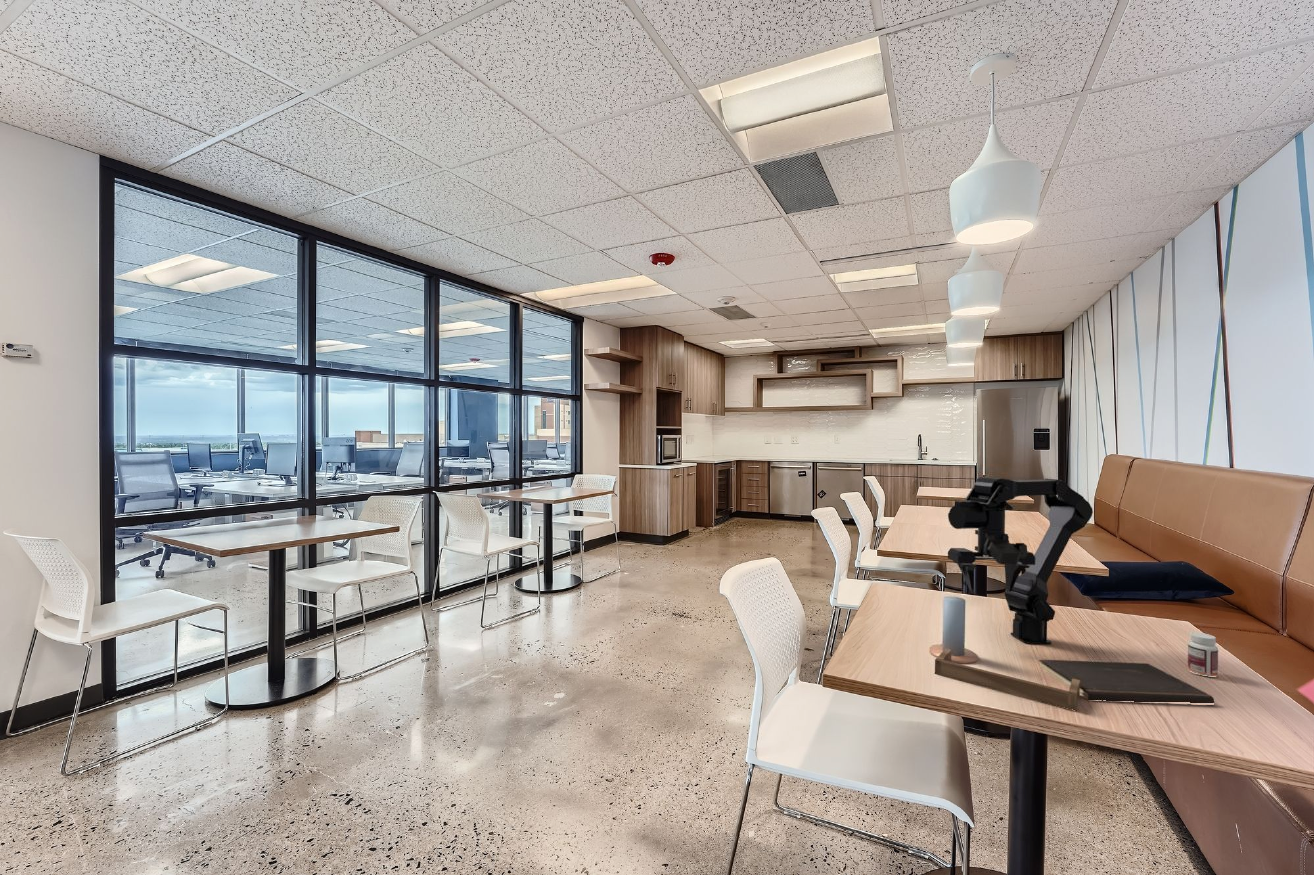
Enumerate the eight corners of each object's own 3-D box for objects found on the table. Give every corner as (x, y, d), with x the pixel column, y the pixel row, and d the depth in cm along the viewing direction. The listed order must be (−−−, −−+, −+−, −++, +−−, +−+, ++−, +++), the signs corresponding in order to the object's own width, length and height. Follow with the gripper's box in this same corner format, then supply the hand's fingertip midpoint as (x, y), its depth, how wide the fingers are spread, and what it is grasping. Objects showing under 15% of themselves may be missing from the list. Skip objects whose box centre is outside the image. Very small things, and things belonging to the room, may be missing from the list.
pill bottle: (1209, 670, 124) (1210, 633, 124) (1223, 679, 120) (1223, 640, 120) (1182, 667, 126) (1183, 630, 126) (1194, 676, 121) (1195, 637, 121)
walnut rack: (945, 661, 127) (945, 648, 127) (1079, 695, 111) (1079, 680, 111) (934, 673, 121) (934, 659, 121) (1075, 711, 105) (1075, 695, 105)
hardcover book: (1038, 669, 125) (1038, 659, 125) (1147, 673, 124) (1147, 663, 124) (1088, 703, 109) (1088, 692, 109) (1214, 709, 108) (1214, 697, 108)
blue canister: (951, 647, 134) (952, 595, 134) (969, 654, 130) (970, 600, 130) (937, 650, 133) (938, 597, 133) (954, 657, 128) (956, 602, 128)
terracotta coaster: (963, 647, 136) (963, 644, 136) (986, 663, 126) (986, 661, 126) (921, 646, 137) (921, 643, 137) (942, 663, 127) (942, 660, 127)
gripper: (971, 532, 131) (969, 599, 131) (1051, 534, 131) (1050, 601, 131) (947, 525, 142) (946, 586, 142) (1021, 526, 142) (1020, 588, 142)
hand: (990, 590), depth 139 cm, fingers open, 9 cm apart
